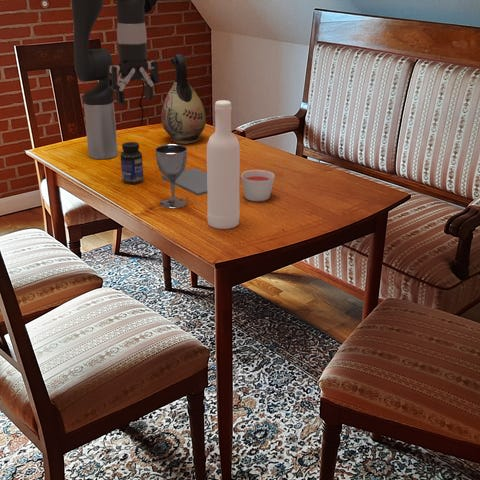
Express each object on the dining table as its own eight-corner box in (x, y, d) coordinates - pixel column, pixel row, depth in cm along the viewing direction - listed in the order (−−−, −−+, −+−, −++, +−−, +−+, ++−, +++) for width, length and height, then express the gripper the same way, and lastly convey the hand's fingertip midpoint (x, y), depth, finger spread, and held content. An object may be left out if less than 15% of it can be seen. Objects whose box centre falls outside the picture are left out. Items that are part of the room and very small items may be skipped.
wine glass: (176, 211, 160) (174, 155, 154) (152, 204, 164) (149, 149, 158) (194, 201, 166) (193, 147, 160) (170, 195, 170) (168, 142, 164)
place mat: (161, 177, 183) (161, 175, 183) (195, 169, 190) (195, 167, 190) (197, 195, 171) (197, 193, 170) (232, 185, 177) (232, 183, 177)
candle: (234, 195, 171) (234, 174, 168) (259, 189, 176) (260, 167, 173) (254, 206, 164) (255, 183, 161) (280, 198, 169) (281, 176, 166)
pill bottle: (139, 185, 177) (136, 148, 172) (119, 183, 178) (116, 146, 174) (146, 178, 183) (144, 141, 178) (126, 176, 184) (124, 140, 179)
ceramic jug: (159, 135, 223) (155, 49, 210) (201, 133, 227) (200, 48, 214) (165, 149, 208) (161, 57, 195) (211, 146, 212) (210, 56, 199)
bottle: (237, 216, 158) (238, 97, 145) (241, 228, 151) (242, 105, 138) (206, 217, 157) (204, 98, 144) (208, 230, 150) (206, 106, 137)
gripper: (147, 36, 169) (149, 95, 176) (100, 40, 161) (105, 103, 168) (162, 40, 164) (164, 101, 171) (115, 45, 156) (119, 109, 163)
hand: (135, 102), depth 170 cm, fingers open, 8 cm apart
